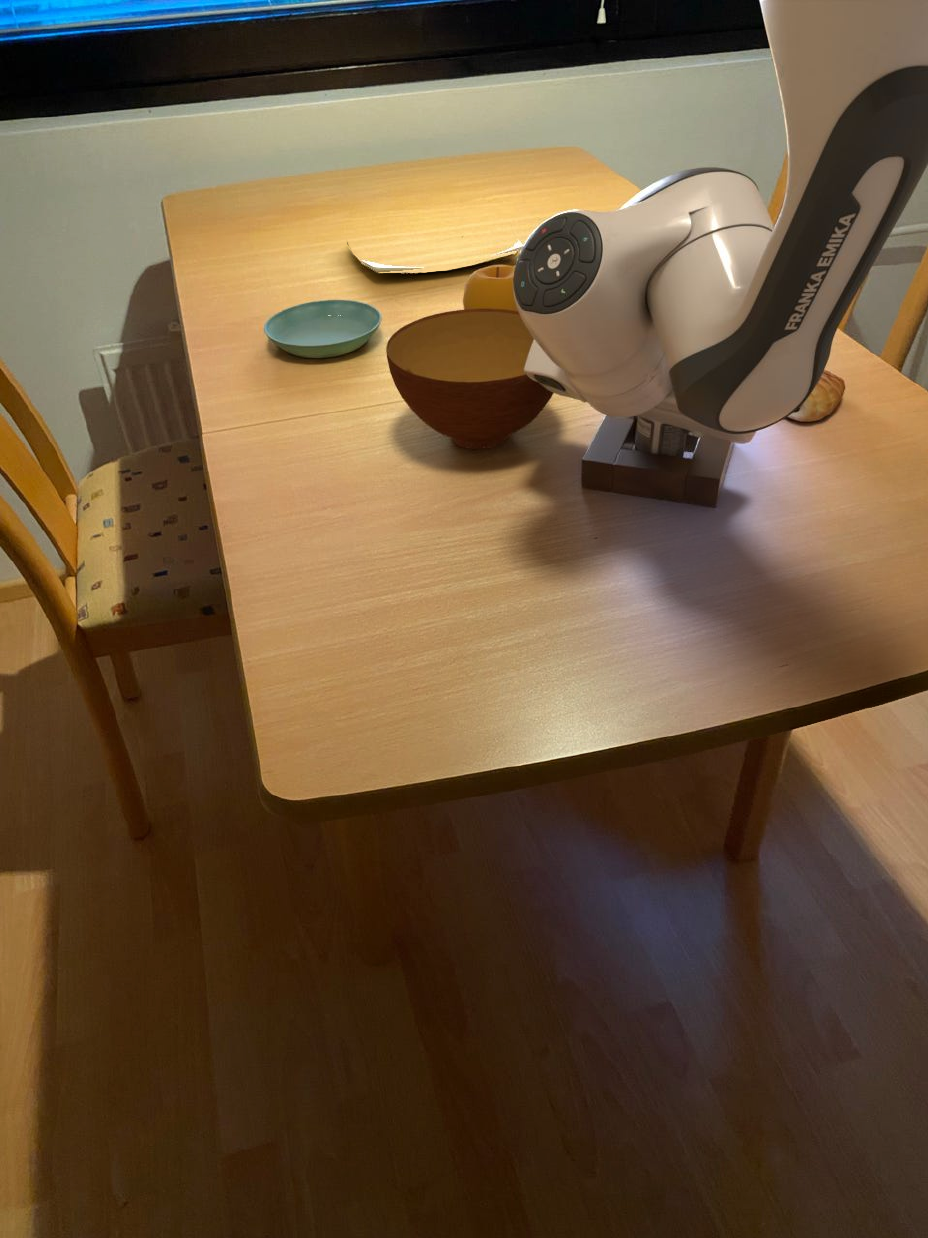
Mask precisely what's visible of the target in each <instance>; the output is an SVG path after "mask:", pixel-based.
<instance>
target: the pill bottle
mask: <svg viewBox="0 0 928 1238" xmlns="http://www.w3.org/2000/svg"><path fill="white" fill-rule="evenodd" d="M686 436H687V434H685V432H684V431H683V430H682V428H679V427H676V426H672V425H668V424H665V423H661V422H657V421H654V420H650V419H646V418H643V417H639V416H638V420H637V430H636V438H635V444H634V450H633V451H639V452H647V453H654V454H662V455H669V456H677V457H685V451H684V450H685V443H686Z"/></svg>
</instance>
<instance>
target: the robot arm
mask: <svg viewBox="0 0 928 1238" xmlns="http://www.w3.org/2000/svg"><path fill="white" fill-rule="evenodd" d="M759 5H760V9H761V10H760V11H761V14H762V18H763V23H764V28H765V32H766V36H767V40H768V45H769V49H770V53H771V57H772V63H773V66H774V71H775V75H776V81H777V85H778V90H779V95H780V99H781V100H780V101H781V106H782V113H783V117H784V125H785V126H784V127H785V133H786V145H787V177H786V178H787V179H786V180H787V181H786V187H785V194H784V198H783V203H782V206H781V208H780V209H781V210H780V211H779V212H780V213H779V215H778V218H777V220H776V223H775V225H774V223H773V220H772V218H771V215H770V213H769V211H768V208H767V206H766V204H765V201H764V200H763V197H762V195H761V193H760V189H759V186H758V185H757V183H756V182H755V181H754V180H753V179H752V178H751V177H750V176H749V175H747V174H744V173H742V172H740V171H737V170H734V169H731V168H730V169H729V168H726V167H717V166H715V167H713V166H712V167H711V166H710V167H708V166H707V167H696V168H695V167H694V168H690V169H685V170H679V171H677V172H675V173H672V174H670V175H667V176H666V177H664V178H662V179H659V180H657V181H655V182H654V183H652V184H650V185H649V186H647V187H645V188H644V189H642V190H641V191H640V192H638V193H636V194H635V195H634V196H633V197H632V198H631V199H630V200H628V201H627V202H626V203H625V204H624V205H622V206H621V208H618V209H613V210H608V211H607V210H606V211H597V210H588V209H570V210H566V211H562V212H560V213H559V212H558V213H557V214H554V215H553V216H550V218H548V219H545V221H543V222H542V223H540V224H539V225H538V226H537V227H536V228H535V229H534V230H533V231H532V232H531V233H530V234H529V236H528V237H527V239H526V241H525V242H524V243H523V244H522V245H523V247H522V249H521V250H520V251H519V253H518V256H517V259H516V262H515V265H514V267H515V270H514V276H513V292H514V299H515V303H516V307H517V309H518V312H519V314H520V316H521V319H522V321H523V322H524V324H525V326H526V327H527V329H528V330H529V332H530V334H531V335H532V337H533V338H534V341H533V343H532V346H531V348H530V351H529V354H528V357H527V360H526V364H525V367H524V372H525V374H526V375H527V376H528V377H529V378H531V379H532V380H534V381H536V382H539V383H540V384H541V385H542V386H543V387H545V388H546V389H547V390H549V391H551V392H553V394H555V395H559V396H561V397H564V398H565V397H566V398H569V399H573V400H576V401H580V402H582V403H584V404H585V403H587V404H588V405H590V407H592V408H593V409H594V410H595V411H597V412H598V413H600V414H602V415H604V416H605V415H607V416H611V417H620V418H624V417H627V418H630V419H633V420H638V416H639V417H643V418H646V419H650V420H654V421H657V422H661V423H665V424H668V425H672V426H676V427H679V428H682V430H683V431H684V432H685V434H689V435H692V436H695V437H699V438H700V437H701V436H702V434H705V435H709V436H713V437H716V438H720V439H724V440H727V441H731V442H734V444H738V445H743V444H748V443H751V442H752V440H753V439H754V437H755V435H756V433H757V432H759V431H761V430H765V429H766V428H769V427H772V426H774V425H776V424H777V423H779V422H782V421H783V420H784V419H786V418H788V417H787V416H789V415H790V414H792V413H793V412H794V411H796V410H797V409H798V408H799V407H800V406H801V405H802V404H803V403H804V402H805V401H806V399H807V398H808V397H809V395H810V394H811V393H812V391H813V390H814V388H815V387H816V385H817V383H818V381H819V379H820V378H821V375H822V373H823V371H824V370H826V366H827V364H828V361H829V359H830V356H831V351H832V347H833V346H832V345H833V342H834V338H835V335H836V333H837V330H838V328H839V326H840V325H841V323H842V321H843V319H844V317H845V315H846V313H847V311H848V310H849V308H850V306H851V304H852V302H853V301H854V299H855V297H856V296H857V294H858V292H859V290H860V288H861V287H862V285H863V283H864V281H865V279H866V278H867V276H868V274H869V273H870V271H871V269H872V267H873V266H874V263H875V262H876V260H877V258H878V256H879V255H880V253H881V251H882V249H883V248H884V246H885V244H886V243H887V240H888V239H889V237H890V235H891V234H892V232H893V230H894V228H895V227H896V225H897V223H898V221H899V219H900V217H901V216H902V214H903V212H904V210H905V208H906V206H907V205H908V203H909V201H910V199H911V197H912V196H913V194H914V192H915V191H916V189H917V186H918V184H919V183H920V181H921V178H922V177H923V175H924V173H925V171H926V169H927V167H928V0H759Z"/></svg>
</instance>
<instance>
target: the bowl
mask: <svg viewBox="0 0 928 1238" xmlns="http://www.w3.org/2000/svg"><path fill="white" fill-rule="evenodd" d="M533 341H534V338H533V337H532V335H531V334H530V332H529V330H528V329H527V327H526V326H525V324H524V322H523V321H522V319H521V316H520V314H519V312H518V311H513V310H503V309H465V310H464V309H457V310H451V311H445V312H439V313H435V314H431V315H427V316H425V317H421V318H419V319H416V320H413V321H412V322H409V323H407V324H405V325H403V326H402V327H400V328H399V329H397V330H396V331H395V332H394V333H393V334H392V335H391V337H390V338H389V339H388V340H387V344H386V348H385V350H386V352H385V353H386V359H387V364H388V370H389V373H390V376H391V378H392V380H393V383H394V386H395V388H396V390H397V391H398V393H399V395H400V397H401V398H402V399H403V401H404V402H405V404H406V405H407V406H408V407H409V409H410V410H411V412H412V413H414V414H415V415H416V416H417V417H418V418H419V419H420V420H421V421H422V422H423V423H424V424H426V425H427V426H429V428H431V429H432V430H434V431H436V432H437V433H439V434H440V435H443V436H445V437H448V438H450V439H451V441H452V442H453V443H454V444H456V445H458V446H459V447H462V448H465V449H473V450H483V449H490V448H495V447H497V446H500V445H501V444H503V443H505V442H506V440H508V438H509V437H510V436H511V435H513V434H515V433H517V432H519V431H521V430H522V429H524V428H525V427H527V426H528V425H529V424H531V423H532V422H533V421H534V420H535V419H536V418H538V416H539V415H540V414H541V412H543V410H544V409H545V407H546V406H547V404H548V403H549V402H550V400H551V399H552V397H553V395H554V393H553V392H551V391H549V390H547V389H546V388H545V387H543V386H542V385H541V384H540V383H539V382H536V381H534V380H532V379H531V378H529V377H528V376H527V375H526V374H525V372H524V367H525V364H526V360H527V357H528V354H529V351H530V348H531V346H532V343H533Z"/></svg>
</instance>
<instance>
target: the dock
mask: <svg viewBox="0 0 928 1238" xmlns="http://www.w3.org/2000/svg"><path fill="white" fill-rule="evenodd" d="M636 430H637V420H633V419H630V418H627V417H624V418H620V417H611V416H607V415H605V414H604V418H603V419H602V421H601V423H600V424H599V426H598V428H597V431H596V433H595V434H594V437H593V438H592V440H591V442H590V444H589V446H588V447H587V450H586V452H585V454H584V455H583V457H582V459H581V472H580V473H581V474H580V488H581V489H582V488H583V489H588V490H596V491H602V492H608V493H609V492H610V493H614V494H621V495H626V496H627V495H629V496H636V497H641V498H647V499H648V498H649V499H656V500H662V501H668V502H675V503H676V502H677V503H680V504H681V503H683V504H690V505H695V506H703V507H708V508H717V505H718V502H719V498H720V495H721V491H722V488H723V485H724V481H725V478H726V474H727V471H728V466H729V463H730V459H731V457H732V452H733V449H734V446H735V443H734V442H731V441H727V440H724V439H720V438H716V437H713V436H709V435H705V434H702V436H701V437H700V438H699V437H695V436H692V435H689V434H687V436H686V443H685V450H684V452H690V453H691V452H692V453H693V454H692V457H685V456H683V457H677V456H669V455H662V454H654V453H647V452H639V451H634V450H632V448H633V446H634V445H635V438H636Z"/></svg>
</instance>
